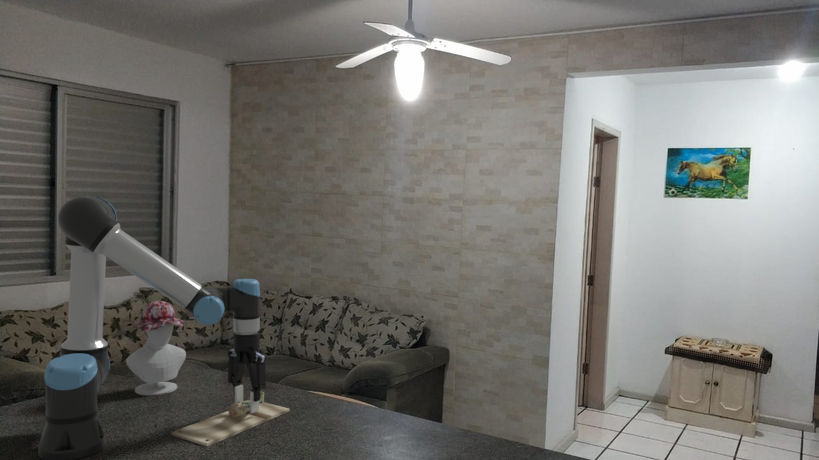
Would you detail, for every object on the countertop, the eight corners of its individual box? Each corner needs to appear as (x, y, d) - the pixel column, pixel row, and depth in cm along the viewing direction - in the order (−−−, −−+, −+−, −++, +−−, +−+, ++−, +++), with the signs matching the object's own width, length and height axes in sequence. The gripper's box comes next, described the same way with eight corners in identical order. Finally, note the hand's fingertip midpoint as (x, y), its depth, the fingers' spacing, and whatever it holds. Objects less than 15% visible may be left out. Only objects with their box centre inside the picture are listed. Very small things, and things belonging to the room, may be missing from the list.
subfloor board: (207, 446, 166) (207, 443, 166) (171, 435, 173) (171, 431, 173) (289, 411, 193) (289, 408, 193) (256, 402, 200) (256, 400, 200)
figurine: (271, 404, 193) (271, 391, 193) (237, 420, 179) (236, 407, 179) (257, 401, 195) (256, 389, 195) (222, 417, 182) (222, 404, 181)
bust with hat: (139, 403, 197) (138, 308, 196) (120, 389, 211) (119, 300, 209) (198, 391, 210) (198, 302, 208) (176, 379, 223) (176, 294, 222)
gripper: (279, 333, 184) (279, 412, 185) (233, 325, 194) (233, 400, 195) (260, 338, 177) (260, 419, 179) (214, 330, 187) (214, 407, 189)
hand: (246, 409), depth 187 cm, fingers closed on figurine, 6 cm apart
